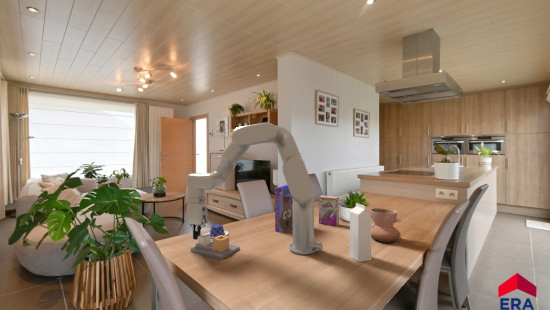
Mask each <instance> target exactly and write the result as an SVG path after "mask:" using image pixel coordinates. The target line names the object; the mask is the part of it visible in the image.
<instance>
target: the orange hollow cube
mask: <svg viewBox="0 0 550 310" xmlns="http://www.w3.org/2000/svg"><path fill="white" fill-rule="evenodd" d="M212 240H213V250H215V251H219V252H223V251H225V250H227V249H229V244H230V236H228V235H226V236H222V235H220V236H217V237H215V238H212Z"/></svg>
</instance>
